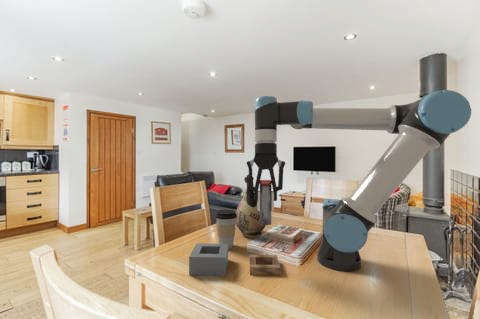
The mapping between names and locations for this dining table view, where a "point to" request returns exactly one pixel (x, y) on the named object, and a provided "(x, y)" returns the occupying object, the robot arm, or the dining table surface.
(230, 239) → the coffee cup
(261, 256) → the mount collar
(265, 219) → the lock pin
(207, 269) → the block
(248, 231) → the ceramic jug
